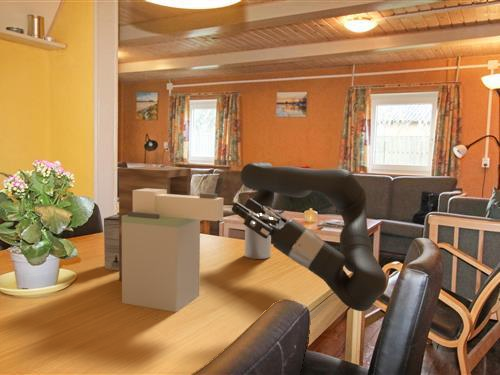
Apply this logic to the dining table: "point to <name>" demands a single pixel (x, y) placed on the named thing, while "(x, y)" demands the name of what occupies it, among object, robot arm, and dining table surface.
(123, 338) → the dining table surface
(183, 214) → the stepped cream block
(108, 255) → the coffee box
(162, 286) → the green-lidded white box
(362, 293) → the robot arm
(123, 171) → the walnut bridge
